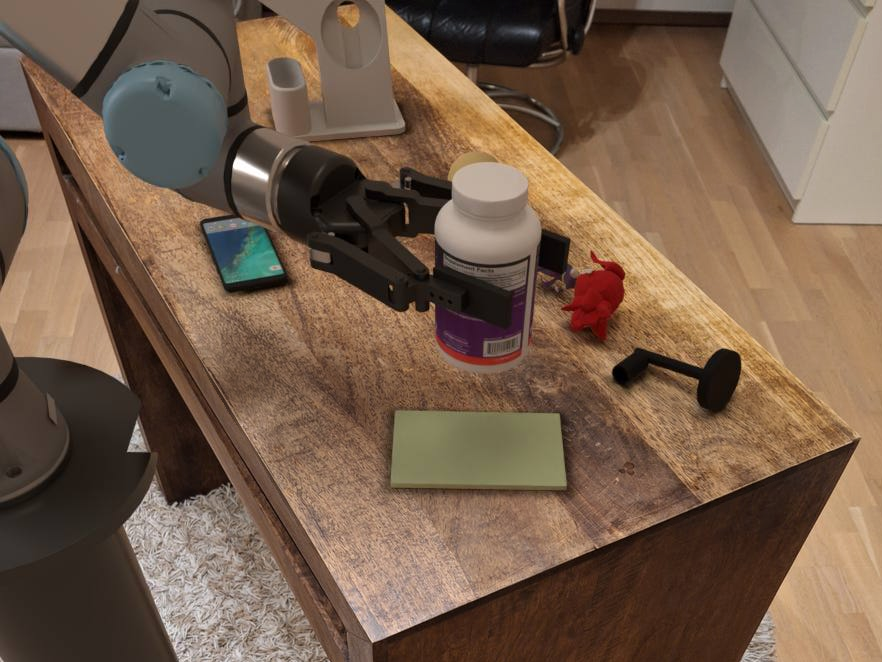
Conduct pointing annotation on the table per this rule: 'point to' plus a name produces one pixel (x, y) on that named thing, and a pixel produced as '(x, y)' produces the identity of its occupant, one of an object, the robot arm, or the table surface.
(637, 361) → the light fixture
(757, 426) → the table surface
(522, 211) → the pill bottle
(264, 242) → the smartphone
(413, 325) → the table surface
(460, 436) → the mat
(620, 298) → the figurine
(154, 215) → the table surface
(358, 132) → the phone holder
